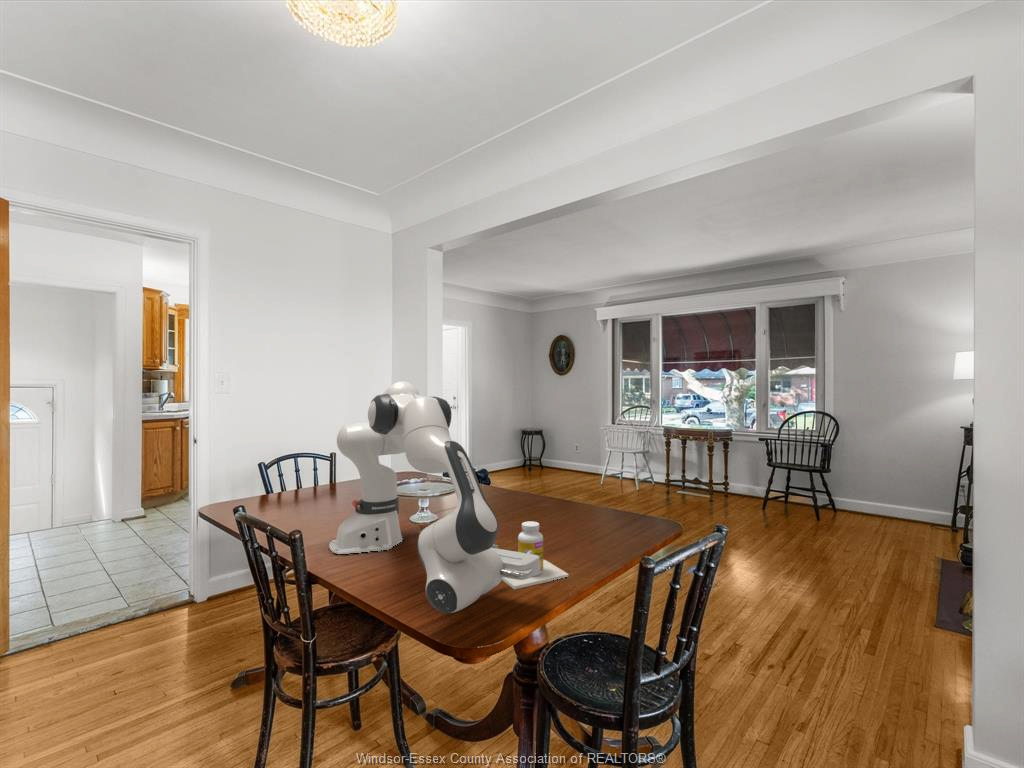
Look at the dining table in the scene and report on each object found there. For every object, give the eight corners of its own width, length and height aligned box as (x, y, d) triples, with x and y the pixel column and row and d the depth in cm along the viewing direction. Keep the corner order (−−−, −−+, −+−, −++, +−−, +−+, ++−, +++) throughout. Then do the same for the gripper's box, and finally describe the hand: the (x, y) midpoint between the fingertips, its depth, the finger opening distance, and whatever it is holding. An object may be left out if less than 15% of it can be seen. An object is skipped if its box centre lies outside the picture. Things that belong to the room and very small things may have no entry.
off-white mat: (514, 589, 121) (514, 586, 121) (493, 573, 132) (493, 570, 132) (568, 577, 128) (568, 574, 128) (544, 562, 139) (544, 559, 139)
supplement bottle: (535, 579, 125) (535, 528, 125) (513, 574, 129) (513, 525, 129) (547, 570, 131) (547, 522, 131) (526, 565, 134) (525, 518, 134)
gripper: (524, 562, 104) (551, 543, 116) (446, 548, 114) (478, 532, 126) (525, 592, 104) (551, 570, 116) (446, 575, 114) (478, 557, 126)
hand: (512, 550), depth 121 cm, fingers open, 8 cm apart
